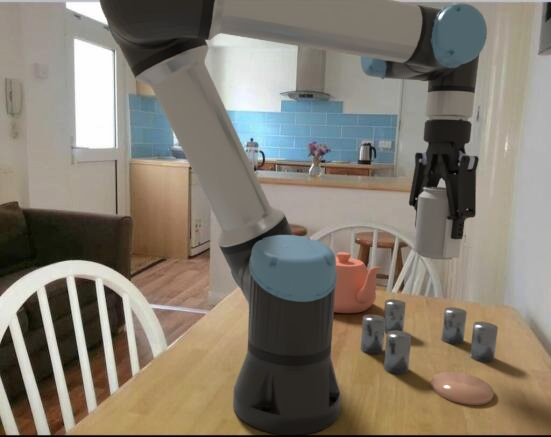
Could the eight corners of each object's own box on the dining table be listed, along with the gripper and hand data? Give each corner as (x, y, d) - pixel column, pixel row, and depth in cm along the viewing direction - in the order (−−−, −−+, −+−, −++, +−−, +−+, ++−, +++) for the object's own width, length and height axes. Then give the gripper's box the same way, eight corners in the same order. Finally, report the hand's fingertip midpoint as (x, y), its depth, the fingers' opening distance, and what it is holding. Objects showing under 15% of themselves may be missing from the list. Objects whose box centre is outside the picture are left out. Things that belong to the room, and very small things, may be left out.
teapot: (402, 316, 110) (407, 261, 108) (348, 328, 101) (352, 269, 100) (339, 289, 128) (342, 242, 126) (288, 297, 120) (291, 246, 118)
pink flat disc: (457, 408, 72) (457, 403, 72) (419, 380, 80) (420, 375, 80) (506, 400, 75) (507, 395, 75) (465, 373, 83) (465, 369, 83)
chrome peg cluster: (392, 375, 81) (395, 340, 81) (339, 332, 99) (341, 303, 98) (499, 360, 89) (502, 328, 88) (432, 323, 106) (434, 295, 106)
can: (461, 262, 84) (468, 190, 82) (414, 258, 85) (421, 187, 83) (454, 252, 91) (461, 187, 89) (411, 249, 92) (417, 184, 90)
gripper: (512, 119, 76) (495, 265, 80) (429, 121, 95) (418, 239, 98) (472, 116, 73) (456, 267, 77) (395, 119, 92) (385, 240, 96)
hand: (435, 251), depth 88 cm, fingers closed on can, 7 cm apart
